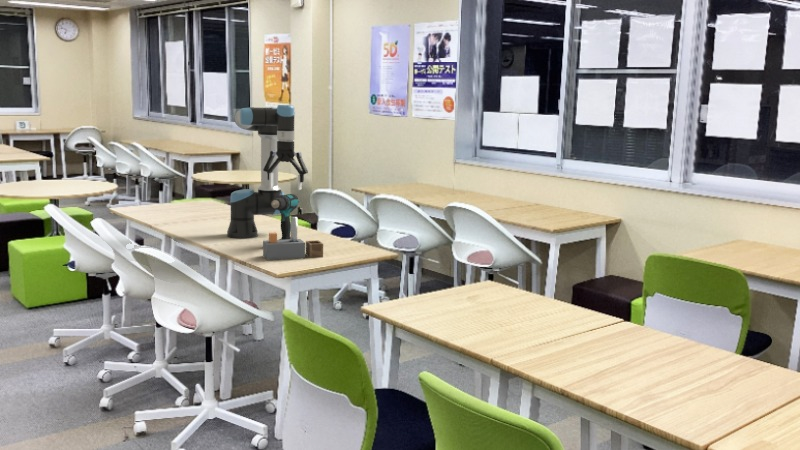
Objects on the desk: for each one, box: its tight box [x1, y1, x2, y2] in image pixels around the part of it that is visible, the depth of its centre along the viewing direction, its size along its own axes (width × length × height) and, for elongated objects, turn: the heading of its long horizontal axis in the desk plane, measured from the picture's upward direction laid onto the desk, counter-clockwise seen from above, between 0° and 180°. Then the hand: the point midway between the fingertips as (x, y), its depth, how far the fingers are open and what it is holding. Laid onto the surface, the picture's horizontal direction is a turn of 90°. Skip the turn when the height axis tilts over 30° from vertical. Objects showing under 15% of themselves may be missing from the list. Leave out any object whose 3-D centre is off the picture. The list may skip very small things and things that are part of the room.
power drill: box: [271, 193, 300, 240], centre depth 341 cm, size 26×9×25 cm, turn 168°
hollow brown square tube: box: [305, 240, 324, 258], centre depth 327 cm, size 8×6×6 cm
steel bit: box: [290, 216, 298, 242], centre depth 322 cm, size 3×3×18 cm
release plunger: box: [268, 232, 278, 243], centre depth 319 cm, size 3×3×8 cm
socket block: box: [262, 238, 306, 261], centre depth 321 cm, size 9×17×7 cm, turn 112°
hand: (285, 188), depth 319 cm, fingers open, 13 cm apart
